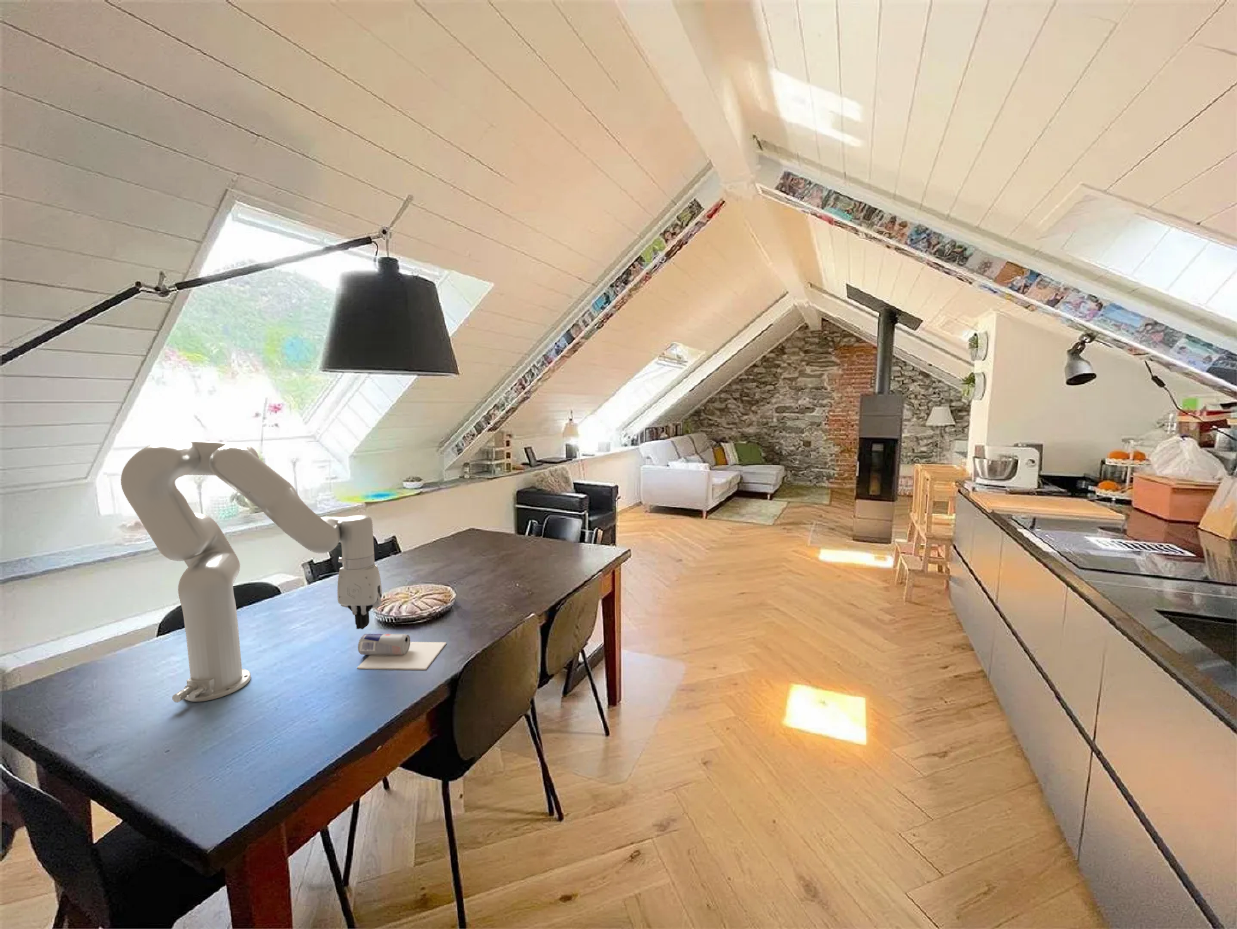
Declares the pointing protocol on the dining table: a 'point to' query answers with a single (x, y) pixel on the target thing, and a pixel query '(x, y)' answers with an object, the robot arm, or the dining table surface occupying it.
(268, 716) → the dining table surface
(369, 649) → the energy drink
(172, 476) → the robot arm
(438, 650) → the mat
